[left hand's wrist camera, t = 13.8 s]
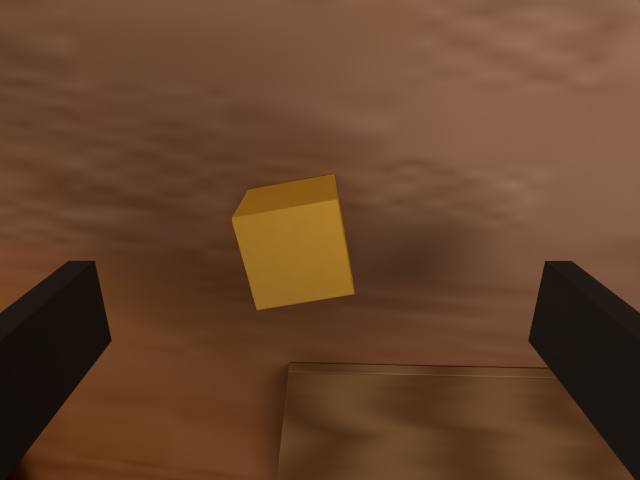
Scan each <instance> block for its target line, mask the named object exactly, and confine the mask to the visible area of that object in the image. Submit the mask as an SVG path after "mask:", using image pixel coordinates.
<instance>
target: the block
mask: <svg viewBox="0 0 640 480" xmlns="http://www.w3.org/2000/svg"><path fill="white" fill-rule="evenodd" d="M232 223H233V226H234V230H235V234H236V237H237V241H238V244H239V248H240V251H241V255H242V259H243V262H244V266H245V269H246V273H247V277H248V280H249V284H250V287H251V291H252V294H253V298H254V302H255V305H256V309H257V310H261V309H267V308H274V307H280V306H286V305H292V304H298V303H304V302H310V301H316V300H322V299H329V298H335V297H341V296H347V295H353V294H355V291H354V285H353V278H352V272H351V265H350V258H349V252H348V246H347V241H346V235H345V229H344V224H343V218H342V212H341V207H340V201H339V196H338V190H337V184H336V179H335V174H330V175H325V176H319V177H314V178H308V179H303V180H298V181H292V182H287V183H281V184H276V185H270V186H265V187H259V188H254V189H249V190H248V191H247V193H246V194H245V196H244V198H243V199H242V201H241V203H240V205H239V206H238V208H237V210H236V211H235V213H234V215H233V217H232Z"/></svg>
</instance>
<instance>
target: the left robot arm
mask: <svg viewBox="0 0 640 480" xmlns="http://www.w3.org/2000/svg"><path fill="white" fill-rule="evenodd" d="M111 341H112V340H111V335H110V331H109V326H108V321H107V317H106V312H105V307H104V302H103V298H102V293H101V288H100V284H99V279H98V274H97V270H96V265H95V261H68V262H66V263H65V264H64V265H63V266H61V267H60V268H59V269H57V270H56V271H55V272H53V273H52V274H51V275H49V276H48V277H47V278H46V279H44V280H43V281H42V282H40V283H39V284H38V285H36V286H35V287H34V288H32V289H31V290H30V291H29V292H27V293H26V294H25V295H23V296H22V297H21V298H19V299H18V300H17V301H15V302H14V303H13V304H12V305H10V306H9V307H8V308H6V309H5V310H4V311H2V312H1V313H0V480H5V479H6V478H7V477H8V475H9V474H10V473H11V472H12V470H13V469H14V468H15V466H16V465H17V464H18V462H19V461H20V460H21V458H22V457H23V456H24V455H25V453H26V452H27V451H28V449H29V448H30V447H31V445H32V444H33V443H34V442H35V440H36V439H37V438H38V436H39V435H40V434H41V432H42V431H43V430H44V428H45V427H46V426H47V425H48V423H49V422H50V421H51V419H52V418H53V417H54V415H55V414H56V413H57V411H58V410H59V409H60V408H61V406H62V405H63V404H64V402H65V401H66V400H67V398H68V397H69V396H70V394H71V393H72V392H73V391H74V389H75V388H76V387H77V385H78V384H79V383H80V381H81V380H82V379H83V378H84V376H85V375H86V374H87V372H88V371H89V370H90V368H91V367H92V366H93V364H94V363H95V362H96V361H97V359H98V358H99V357H100V355H101V354H102V353H103V351H104V350H105V349H106V347H107V346H108V345H109V344H110V342H111ZM528 341H529V342H530V344H531V345H532V346H533V347H534V349H535V350H536V351H537V353H538V354H539V355H540V357H541V358H542V359H543V361H544V362H545V363H546V364H547V366H548V367H549V368H550V370H551V371H552V372H553V374H554V375H555V376H556V378H557V379H558V380H559V381H560V383H561V384H562V385H563V387H564V388H565V389H566V391H567V392H568V393H569V394H570V396H571V397H572V398H573V400H574V401H575V402H576V404H577V405H578V406H579V408H580V409H581V410H582V411H583V413H584V414H585V415H586V417H587V418H588V419H589V421H590V422H591V423H592V425H593V426H594V427H595V428H596V430H597V431H598V432H599V434H600V435H601V436H602V438H603V439H604V440H605V442H606V443H607V444H608V445H609V447H610V448H611V449H612V451H613V452H614V453H615V455H616V456H617V457H618V458H619V460H620V461H621V462H622V464H623V465H624V466H625V468H626V469H627V470H628V472H629V473H630V474H631V475H632V477H633V478H634V479H635V480H640V313H639V312H638V311H636V310H635V309H634V308H632V307H631V306H630V305H628V304H627V303H626V302H625V301H623V300H622V299H621V298H619V297H618V296H617V295H615V294H614V293H613V292H611V291H610V290H609V289H608V288H606V287H605V286H604V285H602V284H601V283H600V282H598V281H597V280H596V279H594V278H593V277H592V276H591V275H589V274H588V273H587V272H585V271H584V270H583V269H581V268H580V267H579V266H577V265H576V264H575V263H574V262H572V261H545V265H544V269H543V274H542V279H541V284H540V288H539V293H538V298H537V302H536V307H535V312H534V317H533V321H532V326H531V331H530V335H529V340H528Z"/></svg>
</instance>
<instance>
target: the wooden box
mask: <svg viewBox="0 0 640 480" xmlns="http://www.w3.org/2000/svg"><path fill="white" fill-rule="evenodd" d="M277 480H635V479H634V478H633V477H632V475H631V474H630V473H629V472H628V470H627V469H626V468H625V466H624V465H623V464H622V462H621V461H620V460H619V458H618V457H617V456H616V455H615V453H614V452H613V451H612V449H611V448H610V447H609V445H608V444H607V443H606V442H605V440H604V439H603V438H602V436H601V435H600V434H599V432H598V431H597V430H596V428H595V427H594V426H593V425H592V423H591V422H590V421H589V419H588V418H587V417H586V415H585V414H584V413H583V411H582V410H581V409H580V408H579V406H578V405H577V404H576V402H575V401H574V400H573V398H572V397H571V396H570V394H569V393H568V392H567V391H566V389H565V388H564V387H563V385H562V384H561V383H560V381H559V380H558V379H557V378H556V376H555V375H554V374H553V372H552V371H551V370H550V369H541V368H497V367H454V366H410V365H366V364H323V363H289V370H288V379H287V389H286V398H285V407H284V417H283V426H282V436H281V445H280V454H279V464H278V473H277Z"/></svg>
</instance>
